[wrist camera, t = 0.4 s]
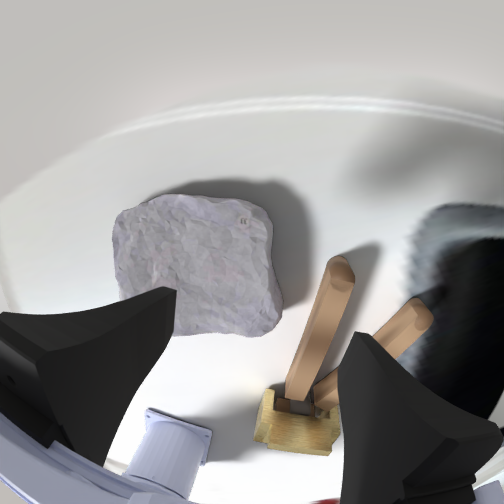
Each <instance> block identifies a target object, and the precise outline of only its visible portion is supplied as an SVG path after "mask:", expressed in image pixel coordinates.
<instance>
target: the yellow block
mask: <svg viewBox="0 0 504 504" xmlns="http://www.w3.org/2000/svg"><path fill="white" fill-rule="evenodd" d="M274 393H275V390H271V389H267V388H266V390H265V393H264V395H263V398H262V401H261V403H260V406H259V409H258V415H257V421H256V427H255V432H254V438H253V441H257V442H263V443H268V446H267V448H269V449H274V450H281V451H287V452H294V453H302V454H311V455H321V456H328V455H329V454H330V453H331V452H332V444H333V443H334V442H335V440H336V439H337V438H338V436H339V435H340V424H339V415H338V407H337V406H335V407H334V408H332V409H331V410H330V411H328V412H326V411H325V410H323V411H322V412H321V414H320V416H319V417H318V418H317V417H310V416H303V415H297V414H291V413H285V412H280V411H275V410H273V402H274Z"/></svg>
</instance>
